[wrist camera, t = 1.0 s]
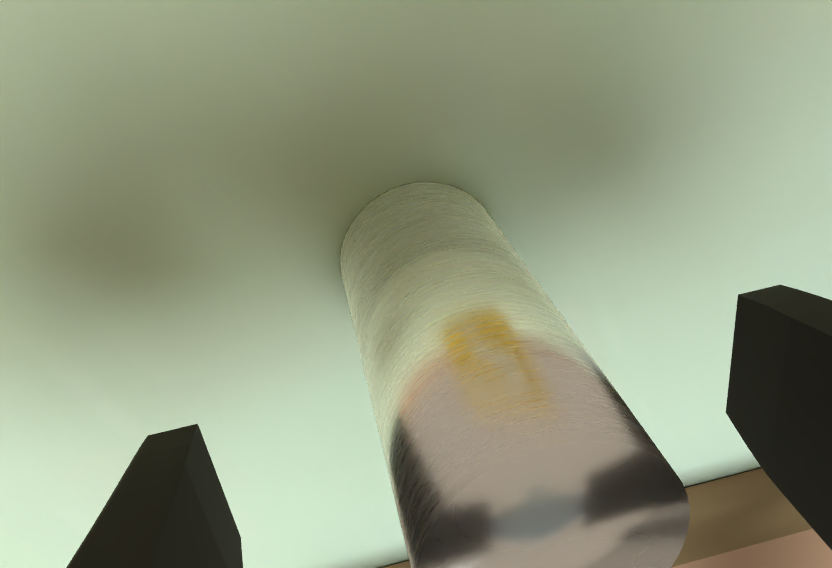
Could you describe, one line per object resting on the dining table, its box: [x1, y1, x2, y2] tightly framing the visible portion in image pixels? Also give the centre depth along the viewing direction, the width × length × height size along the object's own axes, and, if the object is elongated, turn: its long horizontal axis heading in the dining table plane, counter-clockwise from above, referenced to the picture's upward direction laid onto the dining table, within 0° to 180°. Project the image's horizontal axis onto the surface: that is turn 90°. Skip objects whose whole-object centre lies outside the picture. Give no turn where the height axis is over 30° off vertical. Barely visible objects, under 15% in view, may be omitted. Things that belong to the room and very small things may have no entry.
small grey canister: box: [340, 182, 690, 568], centre depth 11 cm, size 3×3×7 cm
